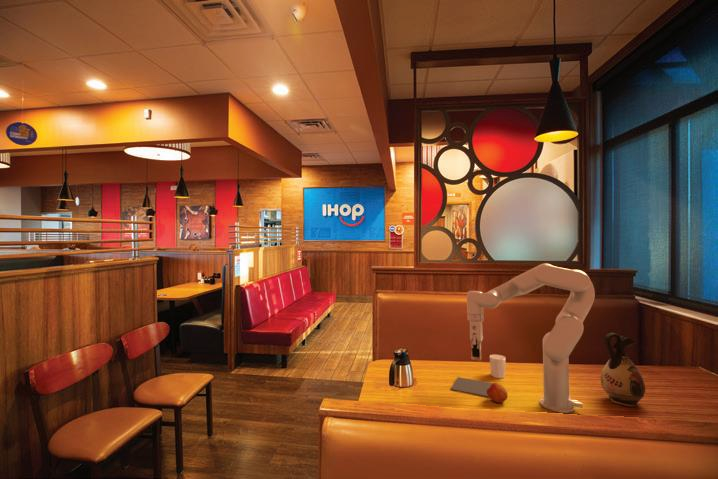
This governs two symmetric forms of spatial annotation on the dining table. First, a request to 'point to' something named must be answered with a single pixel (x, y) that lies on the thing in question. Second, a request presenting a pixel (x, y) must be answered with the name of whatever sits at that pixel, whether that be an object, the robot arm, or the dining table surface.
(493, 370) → the white cup
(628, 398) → the ceramic jug
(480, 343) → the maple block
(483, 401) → the dining table surface
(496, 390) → the fruit
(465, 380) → the rubber mat
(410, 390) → the dining table surface
